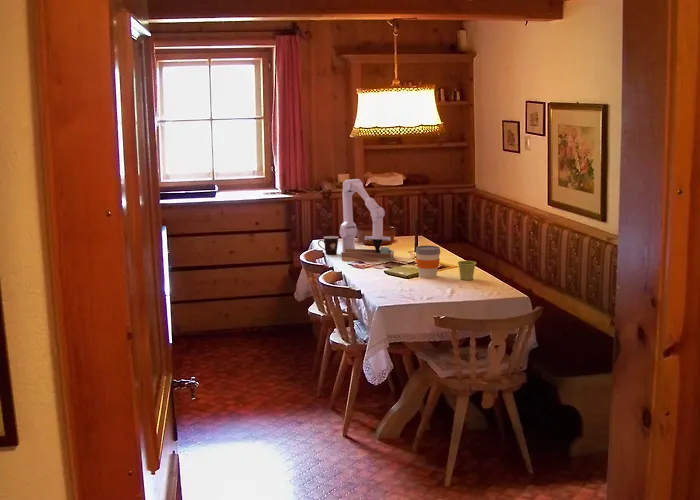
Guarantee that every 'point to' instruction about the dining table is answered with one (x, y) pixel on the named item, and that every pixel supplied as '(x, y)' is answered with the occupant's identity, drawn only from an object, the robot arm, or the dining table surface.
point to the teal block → (385, 250)
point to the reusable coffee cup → (427, 261)
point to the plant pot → (466, 269)
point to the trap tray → (366, 255)
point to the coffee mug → (330, 245)
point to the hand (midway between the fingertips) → (377, 252)
